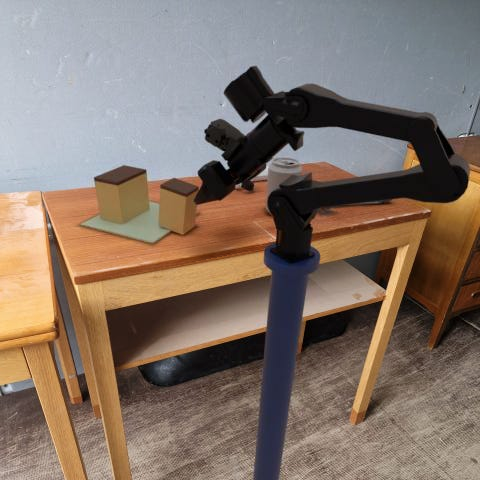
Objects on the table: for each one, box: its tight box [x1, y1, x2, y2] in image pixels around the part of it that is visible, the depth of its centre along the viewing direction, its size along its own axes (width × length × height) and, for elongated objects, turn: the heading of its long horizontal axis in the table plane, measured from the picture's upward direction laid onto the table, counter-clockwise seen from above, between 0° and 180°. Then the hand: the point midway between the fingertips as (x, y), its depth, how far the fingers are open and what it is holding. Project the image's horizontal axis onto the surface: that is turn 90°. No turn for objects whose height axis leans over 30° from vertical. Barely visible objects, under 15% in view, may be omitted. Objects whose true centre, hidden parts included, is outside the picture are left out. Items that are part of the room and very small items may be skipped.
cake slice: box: [158, 177, 200, 235], centre depth 91 cm, size 6×5×9 cm
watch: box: [235, 181, 255, 192], centre depth 115 cm, size 8×5×4 cm, turn 25°
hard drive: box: [250, 165, 269, 182], centre depth 125 cm, size 2×8×12 cm
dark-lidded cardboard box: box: [93, 164, 150, 224], centre depth 96 cm, size 6×10×9 cm, turn 155°
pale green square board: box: [80, 201, 199, 245], centre depth 97 cm, size 18×18×1 cm
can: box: [265, 156, 303, 216], centre depth 100 cm, size 8×8×12 cm
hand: (207, 195), depth 87 cm, fingers open, 9 cm apart
